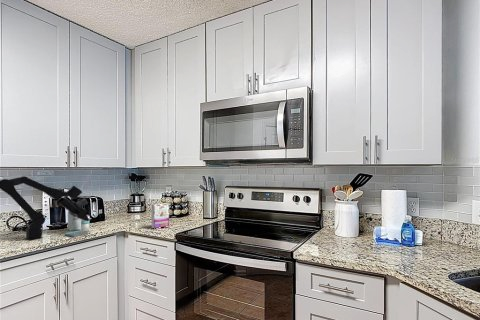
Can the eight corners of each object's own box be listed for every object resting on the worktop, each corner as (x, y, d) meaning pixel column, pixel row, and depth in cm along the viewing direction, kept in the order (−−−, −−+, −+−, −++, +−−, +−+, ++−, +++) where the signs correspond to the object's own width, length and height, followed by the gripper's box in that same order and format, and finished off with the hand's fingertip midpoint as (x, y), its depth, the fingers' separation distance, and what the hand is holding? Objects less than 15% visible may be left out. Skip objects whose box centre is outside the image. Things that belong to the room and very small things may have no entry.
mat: (73, 237, 161) (73, 235, 161) (64, 235, 165) (64, 233, 165) (88, 234, 169) (88, 232, 169) (79, 232, 173) (79, 230, 173)
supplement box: (71, 230, 178) (72, 211, 179) (67, 229, 183) (67, 210, 183) (83, 228, 184) (84, 210, 184) (79, 227, 189) (79, 209, 189)
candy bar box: (166, 226, 194) (166, 203, 195) (169, 227, 190) (169, 203, 191) (150, 228, 187) (151, 204, 188) (153, 229, 183) (154, 205, 184)
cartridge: (83, 231, 174) (84, 216, 174) (79, 230, 176) (79, 215, 176) (90, 230, 178) (91, 215, 178) (86, 229, 180) (86, 214, 180)
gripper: (84, 195, 168) (102, 212, 176) (75, 193, 181) (92, 209, 189) (69, 209, 163) (88, 226, 170) (61, 206, 176) (79, 221, 183)
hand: (87, 220), depth 178 cm, fingers closed on cartridge, 5 cm apart
